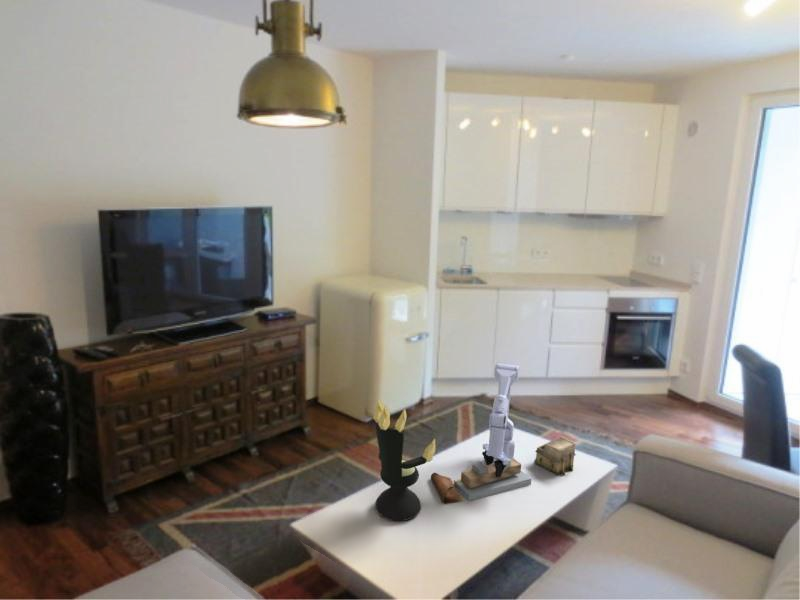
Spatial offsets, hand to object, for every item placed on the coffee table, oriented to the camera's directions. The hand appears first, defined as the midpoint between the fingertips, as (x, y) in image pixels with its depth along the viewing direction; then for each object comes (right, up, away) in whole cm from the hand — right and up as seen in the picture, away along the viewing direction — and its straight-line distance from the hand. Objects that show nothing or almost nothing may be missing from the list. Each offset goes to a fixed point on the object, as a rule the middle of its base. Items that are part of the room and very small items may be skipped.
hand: (493, 472), depth 221 cm
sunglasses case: (-19, -6, -4) cm, 21 cm away
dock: (0, -5, +1) cm, 6 cm away
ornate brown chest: (+30, -3, +19) cm, 36 cm away
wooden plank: (-1, -2, 0) cm, 2 cm away
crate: (-6, +2, -4) cm, 8 cm away
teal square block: (+4, +3, +2) cm, 5 cm away
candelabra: (-39, -9, -19) cm, 44 cm away
